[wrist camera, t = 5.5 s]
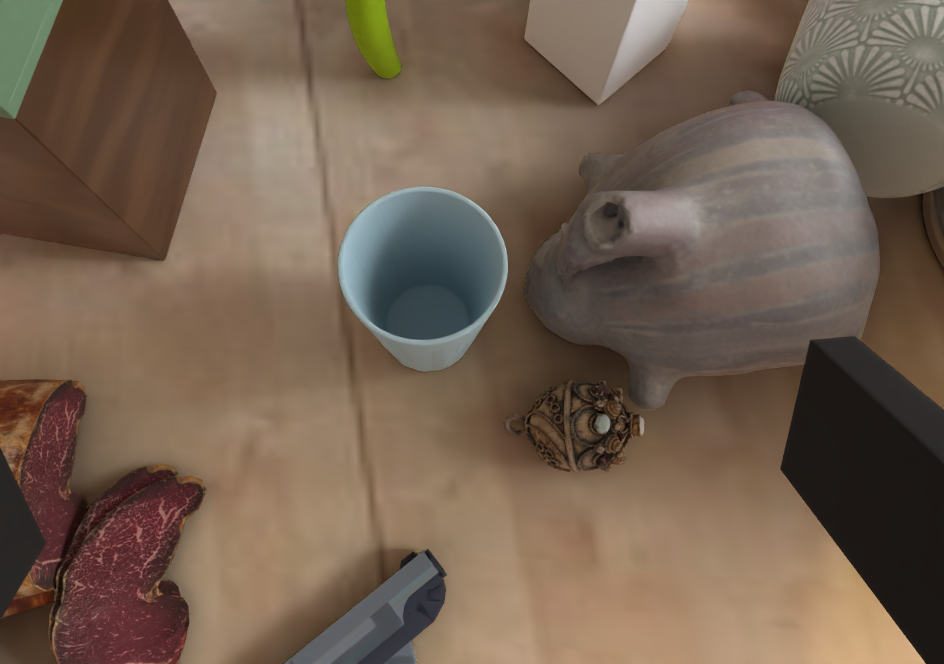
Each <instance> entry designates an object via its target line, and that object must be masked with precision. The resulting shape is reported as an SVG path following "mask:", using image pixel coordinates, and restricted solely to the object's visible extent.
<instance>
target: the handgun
mask: <svg viewBox="0 0 944 664" xmlns="http://www.w3.org/2000/svg"><path fill="white" fill-rule="evenodd" d="M446 575H447V574H446V573H445V571H444V570H443V568H442V567H441V565H440V564H439V563H438V561H437V560H436V559H435V557H434V556H433V555H432V553H431V552H430V551H429V550H428V549H427V550H426V551H424V550H423V551H422V552H421V553H419V554H418V555H417V554H415V553H414V552H412V553H411V554H410V555H408V556H407V557H406V558H405V559H403V560H402V561H401V566H400V570H398V571H397V572H396V573H395V574H393V575H392V576H391V577H390V578H388V579H387V580H386V581H385V582H384V583H382V584H381V585H380V586H379V587H377V588H376V589H375V590H374V591H372V592H371V593H370V594H369V595H368V596H366V597H365V598H364V599H363V600H361V601H360V602H359V603H358V604H356V605H355V606H354V607H353V608H351V609H350V610H349V611H348V612H347V613H345V614H344V615H343V616H342V617H340V618H339V619H338V620H337V621H335V622H334V623H333V624H332V625H330V626H329V627H328V628H327V629H326V630H324V631H323V632H322V633H321V634H319V635H318V636H317V637H316V638H314V639H313V640H312V641H311V642H309V643H308V644H307V645H306V646H305V647H303V648H302V649H301V650H300V651H298V652H297V653H296V654H295V655H293V656H292V657H291V658H290V659H289V660H287V661H286V662H285V663H284V664H417V663H416V659H415V654H414V650H413V646H412V642H411V640H412V639H413V638H415V637H416V636H417V635H418V634H419V633H421V632H422V631H423V630H424V629H425V628H427V627H428V626H429V625H430V624H431V623H433V622H434V620H435V619H436V617H437V615H438V613H439V611H440V609H441V607H442V606H443V604H444V600H445V592H446V588H445V584H444V580H443V579H442V578H444V577H445V576H446Z"/></svg>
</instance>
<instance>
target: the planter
mask: <svg viewBox="0 0 944 664" xmlns="http://www.w3.org/2000/svg"><path fill="white" fill-rule="evenodd" d="M774 101H782V102H787V103H793V104H796V105H799V106H802V107H804V108H806V109H808V110H809V111H811V112H812V113H813V114H815V115H816V116H818V117H819V118H821V119H822V120H823V121H825V122H826V123H827V124H828V125H829V126H830V127H831V129H832V130H833V131H834V132H835V134H836V135H837V136H838V138H839V139H840V141H841V143H842V145H843V146H844V148H845V150H846V152H847V153H848V155H849V157H850V159H851V161H852V163H853V165H854V167H855V169H856V171H857V173H858V176H859V179H860V181H861V184H862V187H863V189H864V192H865V194H866V197H874V198H898V197H907V196H913V195H918V194H922V193H926V192H929V191H932V190H936V189H938V188H941V187H943V186H944V0H809V1H808V4H807V6H806V9H805V11H804V14H803V16H802V19H801V21H800V24H799V27H798V29H797V32H796V34H795V37H794V39H793V42H792V45H791V47H790V50H789V52H788V55H787V58H786V61H785V64H784V67H783V69H782V72H781V75H780V79H779V82H778V86H777V90H776V94H775V98H774Z"/></svg>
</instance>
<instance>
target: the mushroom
mask: <svg viewBox="0 0 944 664" xmlns="http://www.w3.org/2000/svg"><path fill="white" fill-rule="evenodd" d="M345 3H346V10H347V15H348V20H349V25H350V28H351V31H352V34H353V37H354V40H355V42H356V44H357V46H358V48H359V50H360V52H361V53H362V55H363V57H364V58H365V60H366V61H367V63H368V64H369V65H370V67H371V68H372V69H373V70H374V72H375V73H376V74H377V75H378V76H379V77H381V78H385V79H390V78H393V77H395V76H397V75H398V74H399V73H400V71H401V63H400V60H399V58H398V55H397V52H396V49H395V46H394V43H393V40H392V36H391V32H390V28H389V23H388V19H387V12H386V5H385V0H345Z"/></svg>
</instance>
